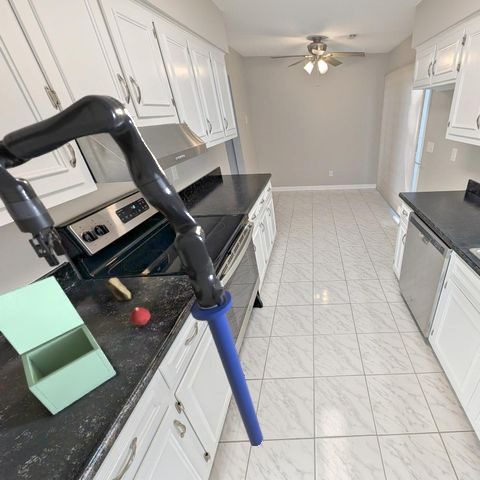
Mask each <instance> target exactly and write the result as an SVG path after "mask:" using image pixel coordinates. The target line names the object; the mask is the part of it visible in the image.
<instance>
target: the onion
mask: <svg viewBox="0 0 480 480" xmlns="http://www.w3.org/2000/svg"><path fill="white" fill-rule="evenodd" d="M129 319H130V321H131V323H132V324H133V325H135V326H145V325H146V324H147V323H148V322H149V321H150V319H151V312H150V311H149V310H148V309H147V308H145V307H134V310H133V311H132V312H131V314H130V317H129Z"/></svg>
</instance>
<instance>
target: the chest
mask: <svg viewBox="0 0 480 480" xmlns="http://www.w3.org/2000/svg"><path fill="white" fill-rule="evenodd" d="M20 357H21V362H22V365H23V370H24V374H25V379H26V383H27V387H28V390H29V391H30V393H32V394H33V395H34V396H35V397H36V398H37V399H38V400H39V401H40V402H41V404H42V405H44V407H46V409H47V410H48V411H49V412H50V413H51V414H52V415H53V416H54V415H56V414H58V413H59V412H61V411H62V410H64V409H65V408H67V407H68V406H70V405H71V404H73V403H75V402H76V401H77V400H79V399H80V398H82V397H84V396H85V395H86V394H88V393H90V392H92V391H93V390H94V389H96V388H97V387H99V386H101V385H102V384H104V383H105V382H106V381H108V380H110V379H111V378H114V377H115V376H116V375H117V372H116V370H115V369H114V368H113V365H112V364H111V363H110V361H109V359H108V358H107V356H106V355H105V353H104V351H103V350H102V348H101V347H100V345H99V344H98V342H97V340H96V339H95V337H94V336H93V334H92V332H91V331H90V330H89V328H88V327H87V325H86V324H85V323H83V324H81V325H79V326H77V327H75V328H73V329H71V330H69V331H67V332H65V333H63V334H61V335H59V336H57V337H55V338H53V339H51V340H49V341H47V342H45V343H43V344H41V345H39V346H37V347H35V348H33V349H31V350H29V351H27V352H25V353H23V354H21V355H20Z"/></svg>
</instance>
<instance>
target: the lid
mask: <svg viewBox="0 0 480 480" xmlns="http://www.w3.org/2000/svg"><path fill="white" fill-rule="evenodd" d="M83 324H85V322H84V321H83V319H82V318H81V316H80V314H79V312H78V311H77V310H76V309H75V307H74V304H73V303H72V302H71V300H70V299H69V297H68V295H66V293H65V291H64V290H63V289H62V287H61V285H60V284H59V283H58V280H56V277H55V276H54V275H50V276H49V277H46V278H42V279H40V280H37V281H35V282H32V283H29V284H27V285H24V286H21V287H18V288H16V289H12V290H9V291H7V292H5V293H2V294H0V332H1V333H2V335H3V336H4V337H5V338H6V340H7V341H8V342H9V344H11V346H12V347H13V348H14V349H15V351H16V352H17V353H18V354H19V355H20V356H21V355H23V354H25V353H27V352H29V351H31V350H33V349H35V348H37V347H39V346H41V345H43V344H45V343H47V342H49V341H51V340H53V339H55V338H57V337H59V336H61V335H63V334H65V333H67V332H69V331H71V330H73V329H75V328H77V327H79V326H81V325H83Z"/></svg>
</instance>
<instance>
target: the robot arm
mask: <svg viewBox="0 0 480 480" xmlns="http://www.w3.org/2000/svg"><path fill="white" fill-rule="evenodd" d="M99 134H101V135H102V134H108V135H109V136H110V138H111V139H112V140H113V141H114V143H115V144H116V145H117V147H118V148H119V150H120V152H121V154H122V156H123V158H124V160H125V165H126V168H127V172H128V174H129V177H130V180H131V181H132V183H133V185H134V186H135V188H136V189H137V191H138V192H139V193H140V194H141V196H142V198H143V199H144V200H145V201H146V202H147V203H148V204H149V205H150V206H151V207H153V208H154V209H155V210H156V211H158V212H159V213H160V214H161V215H162V216H163V217H165V219H167V221H168V222H169V223H170V226H171V227H172V228H173V230H174V232H175V234H176V236H175V239H174V247H175V251H176V253H177V255H178V258H179V261H180V263H181V265H182V267H183V268H184V269H185V271H186V274H187V278H188V281H189V284H190V285H191V288H192V291H193V294H194V296H195V299H197V302H198V306H199V308H200V309H202V310H211V309H214V308H216V307H218V306H221V304H223V305H224V304H225V303H226V301H227V298H226V297H225V291H226V290H225V288H223V287H222V284H221V280H220V278H219V277H217V275H216V271H215V268H214V264H213V261H212V258H211V256H209V253H208V249H207V246H206V243H205V242H206V233H205V231H204V229H203V228H202V226H201V225H200V224H199V223H198V221H196V219H195V218H194V217H193V216H192V214H191V213H190V211H189V210H188V209H187V207H186V205H185V203H184V202H183V200H182V198H181V196H180V194H179V193H178V192H177V190H176V188H175V187H174V185H173V183H172V181H171V180H170V178H169V177H168V176H167V174H166V172H165V171H164V169H163V168H162V166H161V165H160V164H159V161H158V160H157V158H155V156H154V154H153V153H152V151H151V150H150V148H149V147H148V145H147V144H146V142H145V140H144V139H143V136H142V135H141V133H140V131H139V129H138V128H137V125H136V123H135V121H134V119H133V117H132V116H131V114H130V111H128V109H127V108H126V106H125V105H124V104H123V103H122V102H121V101H120V100H118V99H117V98H115V97H113V96H111V95H108V94H107V95H105V94H87V95H84V96H83V97H81V98H79V99H78V100H76V101H75V102H73V103H72V104H70V105H69V106H67V107H66V108H64V109H63V110H61V111H59V112H58V113H55V114H54V115H52V116H50V117H48V118H45V119H43V120H40V121H37V122H34V123H32V124H28V125H26V126H24V127H20V128H18V129H15V130H13V131H10V132H8V133H7V134H5V135H4V136H3V138H2V139H1V140H0V201H1V202H2V203H3V205H4V207H5V209H6V212H7V213H8V214H9V216H10V218H11V219H12V221H13V220H14V221H13V222H14V223H15V225H16V226H17V228H18V230H19V231H20V232H21V233H24V234H31V236H32V238H30V239H28V242H29V244H30V245H31V248H32V249H33V250H34V252H35V253H36V255H37V257H38V258H39V259H41V258H44V260H45V261H46V263H47V264H48V266H49V267H51V268H54V267H58V266H60V264H61V262H60V261H59V259H58V258H57V257H61V256H65V255H66V253H67V252H66V250H65V248H64V247H63V245H62V237H61V236H60V233H58V230H56V227H55V226H54V225H55V221H54V219H53V218H52V216H51V214H50V213H49V211H48V209H47V208H46V206H45V204H44V202H43V201H42V200H41V198H39V196H38V195H37V193H36V191H35V189H34V188H33V186H32V184H31V183H30V182H29V181H28V179H27V178H24V177H17V176H16V177H14V176H13V175H12V174H11V173H10V172H9V171H8V170H10V169H15V168H17V167H21V166H22V165H24V164H26V163H28V162H30V161H31V160H33V159H36V158H39V157H41V156H45V155H46V154H49V153H51V152H54V151H56V150H58V149H60V148H62V147H63V146H65V145H67V144H68V143H70V142H73V141H75V140H77V139H80V138H84V137H88V136H94V135H99ZM224 290H225V291H224ZM223 299H225V300H224V302H223V303H222V301H223Z"/></svg>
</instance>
